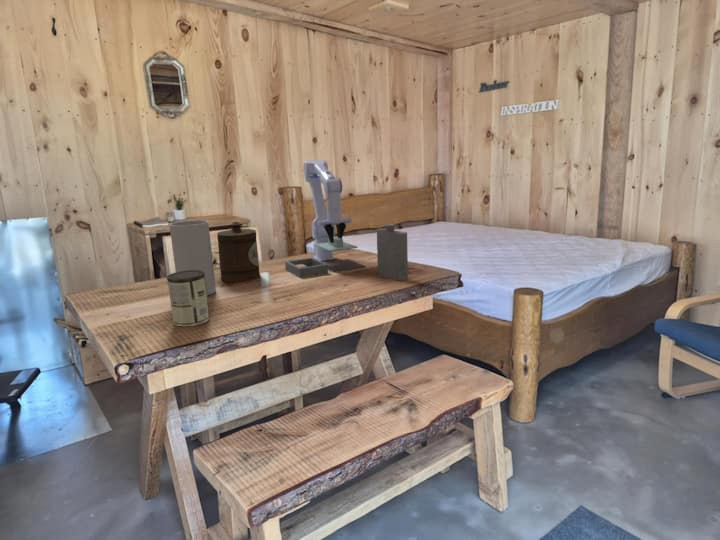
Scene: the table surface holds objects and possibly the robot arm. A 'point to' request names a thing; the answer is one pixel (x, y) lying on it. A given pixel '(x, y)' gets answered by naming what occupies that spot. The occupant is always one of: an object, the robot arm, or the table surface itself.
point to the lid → (336, 245)
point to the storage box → (306, 267)
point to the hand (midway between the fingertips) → (335, 242)
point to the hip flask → (392, 253)
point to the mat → (343, 265)
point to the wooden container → (238, 254)
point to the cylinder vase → (193, 249)
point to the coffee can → (188, 298)
